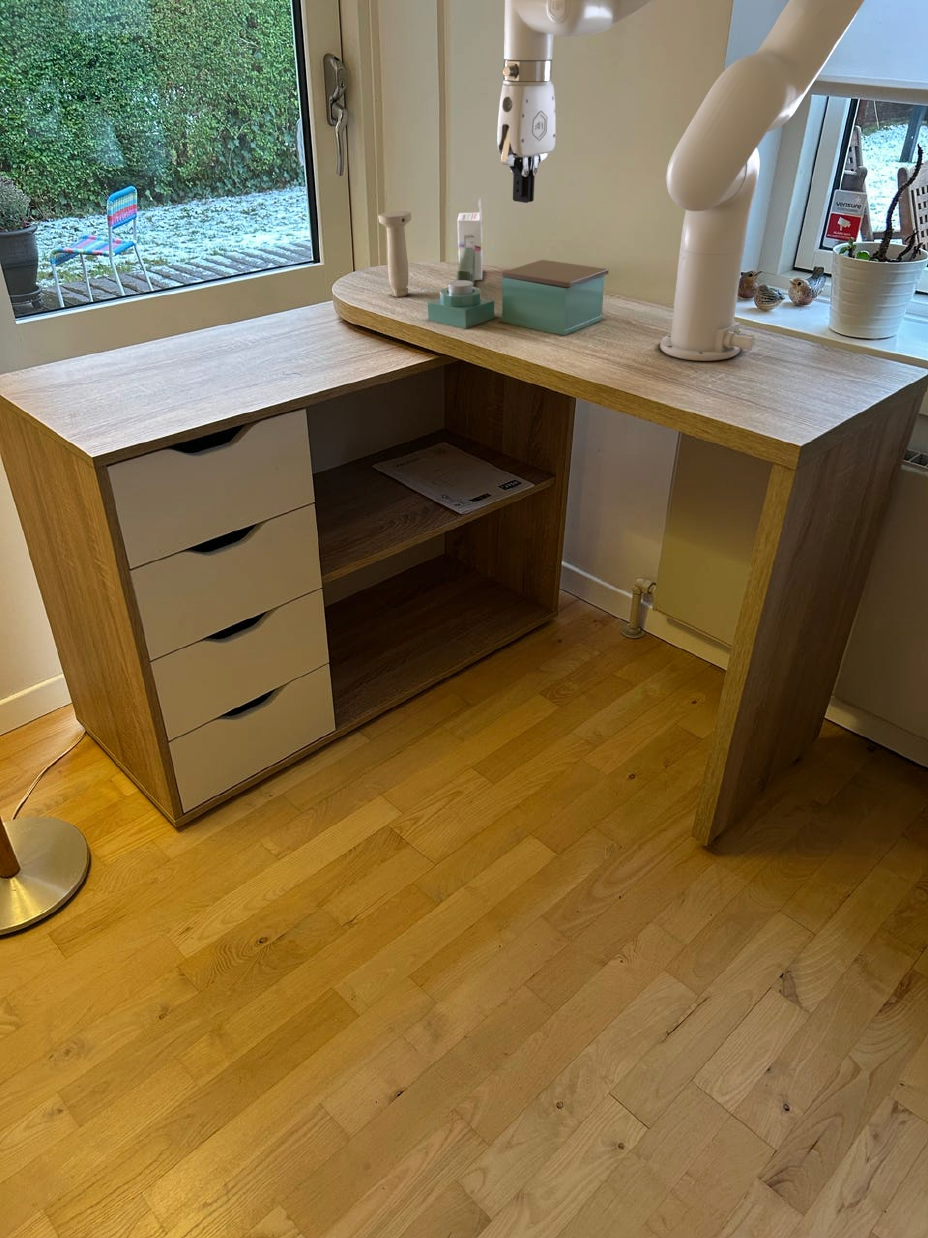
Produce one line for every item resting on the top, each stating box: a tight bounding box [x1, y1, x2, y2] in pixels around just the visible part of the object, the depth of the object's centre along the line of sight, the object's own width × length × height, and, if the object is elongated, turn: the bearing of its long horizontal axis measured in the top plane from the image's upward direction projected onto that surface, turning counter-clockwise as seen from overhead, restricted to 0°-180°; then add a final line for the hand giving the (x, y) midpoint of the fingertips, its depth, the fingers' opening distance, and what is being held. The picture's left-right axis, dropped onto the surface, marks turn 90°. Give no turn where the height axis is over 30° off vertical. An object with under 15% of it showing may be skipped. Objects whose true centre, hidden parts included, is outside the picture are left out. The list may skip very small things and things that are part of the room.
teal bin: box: [501, 275, 605, 336], centre depth 161 cm, size 14×12×8 cm
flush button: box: [447, 279, 474, 295], centre depth 163 cm, size 4×4×2 cm
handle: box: [377, 210, 412, 298], centre depth 177 cm, size 5×6×15 cm
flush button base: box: [427, 286, 495, 329], centre depth 164 cm, size 9×8×5 cm
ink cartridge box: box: [456, 196, 484, 281], centre depth 188 cm, size 9×5×15 cm, turn 178°
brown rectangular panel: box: [502, 259, 609, 288], centre depth 158 cm, size 14×12×1 cm
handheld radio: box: [456, 248, 475, 286], centre depth 181 cm, size 7×3×25 cm
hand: (523, 200), depth 152 cm, fingers closed
